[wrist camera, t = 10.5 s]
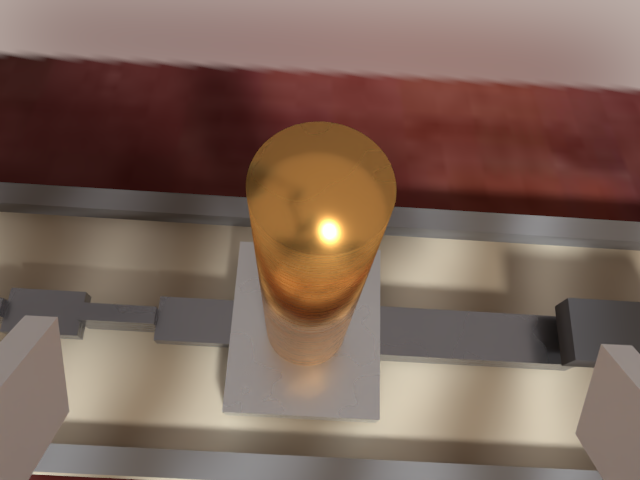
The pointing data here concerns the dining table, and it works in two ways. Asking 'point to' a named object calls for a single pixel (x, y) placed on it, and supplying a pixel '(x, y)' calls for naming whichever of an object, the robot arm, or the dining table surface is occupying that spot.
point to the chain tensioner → (310, 293)
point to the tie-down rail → (395, 377)
